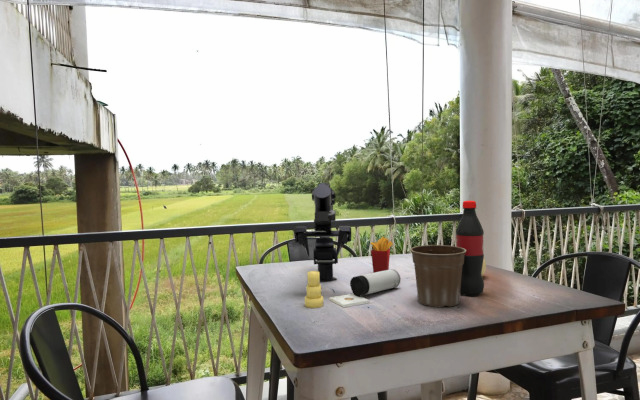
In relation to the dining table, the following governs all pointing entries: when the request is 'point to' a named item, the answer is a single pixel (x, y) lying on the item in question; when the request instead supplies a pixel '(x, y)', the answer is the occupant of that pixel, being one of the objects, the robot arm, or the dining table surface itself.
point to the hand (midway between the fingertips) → (322, 255)
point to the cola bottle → (471, 250)
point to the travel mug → (374, 282)
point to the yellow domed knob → (313, 291)
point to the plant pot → (438, 274)
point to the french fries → (381, 255)
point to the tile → (349, 300)
